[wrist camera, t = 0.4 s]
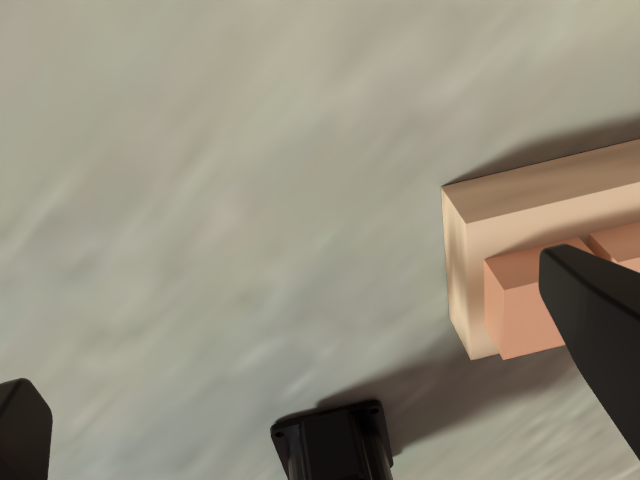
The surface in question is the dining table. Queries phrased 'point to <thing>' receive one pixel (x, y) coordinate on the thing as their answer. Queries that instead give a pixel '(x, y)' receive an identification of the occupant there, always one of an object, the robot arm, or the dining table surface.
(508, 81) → the dining table surface
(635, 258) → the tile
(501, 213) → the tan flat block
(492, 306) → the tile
